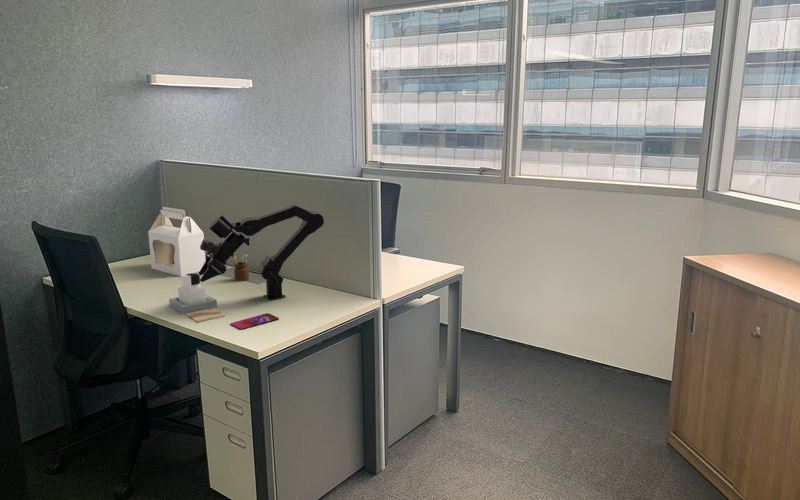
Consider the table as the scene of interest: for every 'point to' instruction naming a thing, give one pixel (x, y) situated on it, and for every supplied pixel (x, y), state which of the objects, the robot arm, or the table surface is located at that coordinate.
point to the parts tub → (192, 305)
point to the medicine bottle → (191, 290)
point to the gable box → (176, 243)
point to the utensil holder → (241, 270)
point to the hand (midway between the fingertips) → (200, 277)
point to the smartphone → (254, 321)
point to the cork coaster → (205, 315)
